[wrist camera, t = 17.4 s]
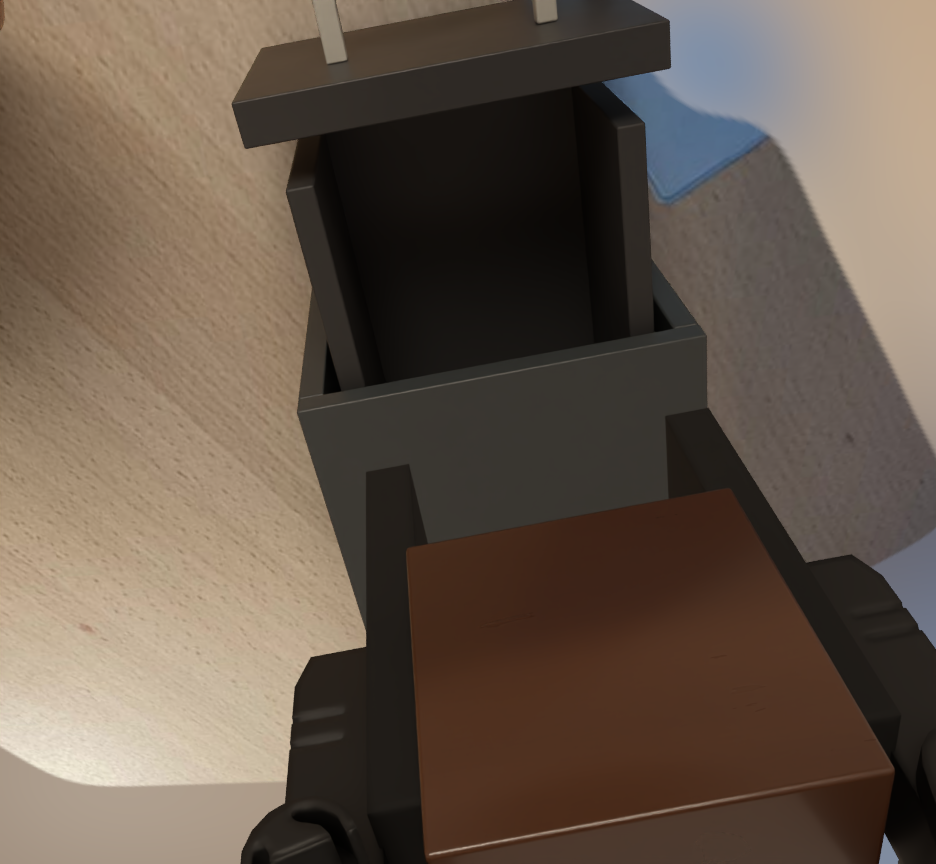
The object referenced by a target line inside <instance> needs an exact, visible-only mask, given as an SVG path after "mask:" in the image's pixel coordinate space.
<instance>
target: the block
mask: <svg viewBox="0 0 936 864" xmlns="http://www.w3.org/2000/svg"><path fill="white" fill-rule="evenodd" d="M406 563H407V579H408V596H409V613H410V629H411V646H412V663H413V679H414V696H415V713H416V729H417V746H418V763H419V779H420V796H421V812H422V829H423V846H424V857H425V860H426V863H427V864H879V860H880V854H881V848H882V843H883V837H884V832H885V826H886V820H887V815H888V809H889V804H890V798H891V792H892V787H893V781H894V775H895V769H894V767H893V765H892V763H891V762H890V760H889V758H888V756H887V755H886V753H885V751H884V750H883V748H882V746H881V745H880V743H879V741H878V739H877V738H876V736H875V734H874V733H873V731H872V729H871V727H870V726H869V724H868V722H867V721H866V719H865V717H864V715H863V714H862V712H861V710H860V709H859V707H858V705H857V704H856V702H855V700H854V698H853V697H852V695H851V693H850V692H849V690H848V688H847V686H846V685H845V683H844V681H843V680H842V678H841V676H840V674H839V673H838V671H837V669H836V668H835V666H834V664H833V663H832V661H831V659H830V657H829V656H828V654H827V652H826V651H825V649H824V647H823V645H822V644H821V642H820V640H819V639H818V637H817V635H816V633H815V632H814V630H813V628H812V627H811V625H810V623H809V621H808V620H807V618H806V616H805V615H804V613H803V611H802V610H801V608H800V606H799V604H798V603H797V601H796V599H795V598H794V596H793V594H792V592H791V591H790V589H789V587H788V586H787V584H786V582H785V580H784V579H783V577H782V575H781V574H780V572H779V570H778V569H777V567H776V565H775V563H774V562H773V560H772V558H771V557H770V555H769V553H768V551H767V550H766V548H765V546H764V545H763V543H762V541H761V539H760V538H759V536H758V534H757V533H756V531H755V529H754V528H753V526H752V524H751V522H750V521H749V519H748V517H747V516H746V514H745V512H744V510H743V509H742V507H741V505H740V504H739V502H738V500H737V498H736V497H735V495H734V493H733V492H732V490H731V489H730V488H724V489H719V490H713V491H708V492H703V493H697V494H692V495H686V496H681V497H676V498H670V499H665V500H660V501H654V502H649V503H644V504H638V505H633V506H628V507H622V508H617V509H612V510H606V511H601V512H595V513H590V514H585V515H579V516H574V517H569V518H563V519H558V520H553V521H547V522H542V523H537V524H531V525H526V526H521V527H515V528H510V529H504V530H499V531H494V532H488V533H483V534H478V535H472V536H467V537H462V538H456V539H451V540H446V541H440V542H435V543H430V544H424V545H419V546H413V547H409V548H407V551H406Z"/></svg>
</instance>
